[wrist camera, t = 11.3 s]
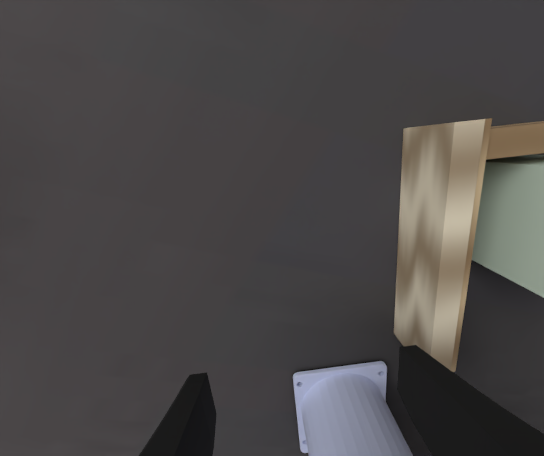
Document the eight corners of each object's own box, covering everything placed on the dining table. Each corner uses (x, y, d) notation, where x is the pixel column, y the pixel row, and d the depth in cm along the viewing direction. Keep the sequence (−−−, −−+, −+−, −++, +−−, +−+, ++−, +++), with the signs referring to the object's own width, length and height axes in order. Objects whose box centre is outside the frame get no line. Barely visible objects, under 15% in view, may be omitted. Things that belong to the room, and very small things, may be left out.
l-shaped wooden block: (490, 320, 22) (548, 363, 18) (393, 333, 22) (428, 379, 17) (528, 114, 17) (621, 104, 13) (403, 128, 17) (454, 122, 12)
